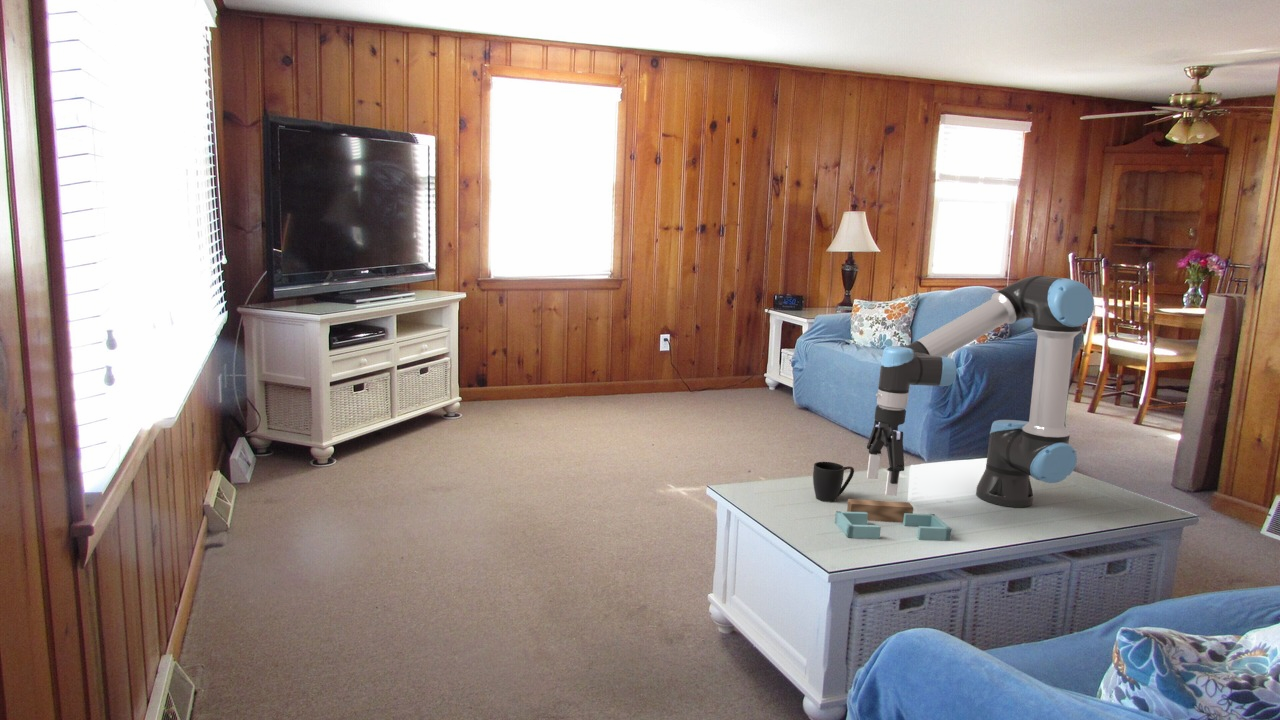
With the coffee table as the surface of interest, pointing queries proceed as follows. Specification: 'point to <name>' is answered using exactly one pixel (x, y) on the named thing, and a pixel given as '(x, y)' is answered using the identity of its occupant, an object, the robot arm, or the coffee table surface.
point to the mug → (829, 480)
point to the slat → (880, 509)
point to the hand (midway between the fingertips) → (881, 486)
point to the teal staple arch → (928, 526)
